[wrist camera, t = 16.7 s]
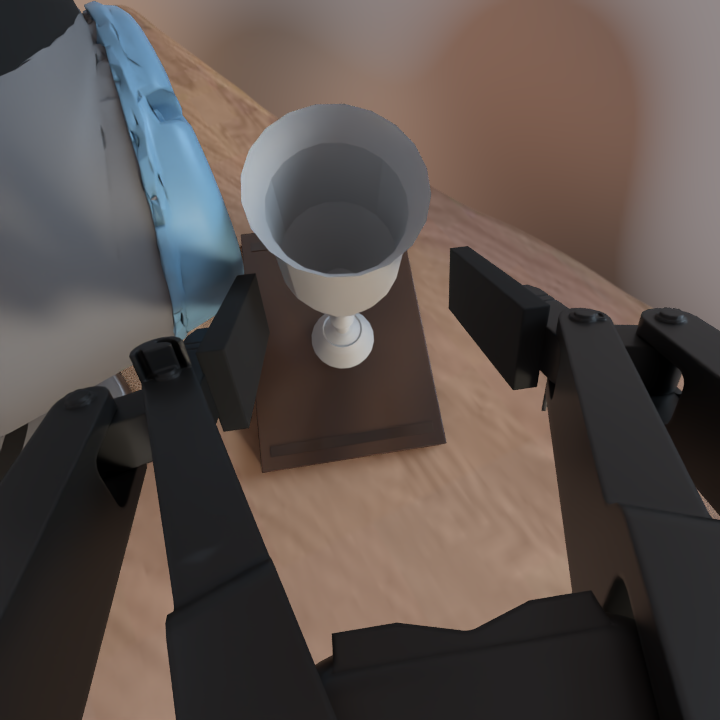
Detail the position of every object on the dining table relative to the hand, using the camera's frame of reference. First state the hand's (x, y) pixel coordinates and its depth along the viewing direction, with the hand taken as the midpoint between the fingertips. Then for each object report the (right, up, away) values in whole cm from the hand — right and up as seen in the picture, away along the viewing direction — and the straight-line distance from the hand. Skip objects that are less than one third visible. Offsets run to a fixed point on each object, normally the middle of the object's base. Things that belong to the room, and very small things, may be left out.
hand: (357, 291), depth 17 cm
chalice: (-1, -1, +15) cm, 15 cm away
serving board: (-2, -1, +16) cm, 16 cm away
